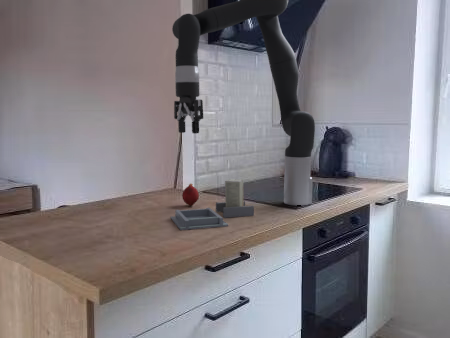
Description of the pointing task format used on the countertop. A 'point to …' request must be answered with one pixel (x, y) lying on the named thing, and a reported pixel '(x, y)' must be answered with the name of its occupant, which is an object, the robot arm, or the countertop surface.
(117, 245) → the countertop surface
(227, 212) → the slot
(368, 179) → the countertop surface
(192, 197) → the onion
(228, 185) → the box
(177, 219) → the grey square tray
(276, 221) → the countertop surface
